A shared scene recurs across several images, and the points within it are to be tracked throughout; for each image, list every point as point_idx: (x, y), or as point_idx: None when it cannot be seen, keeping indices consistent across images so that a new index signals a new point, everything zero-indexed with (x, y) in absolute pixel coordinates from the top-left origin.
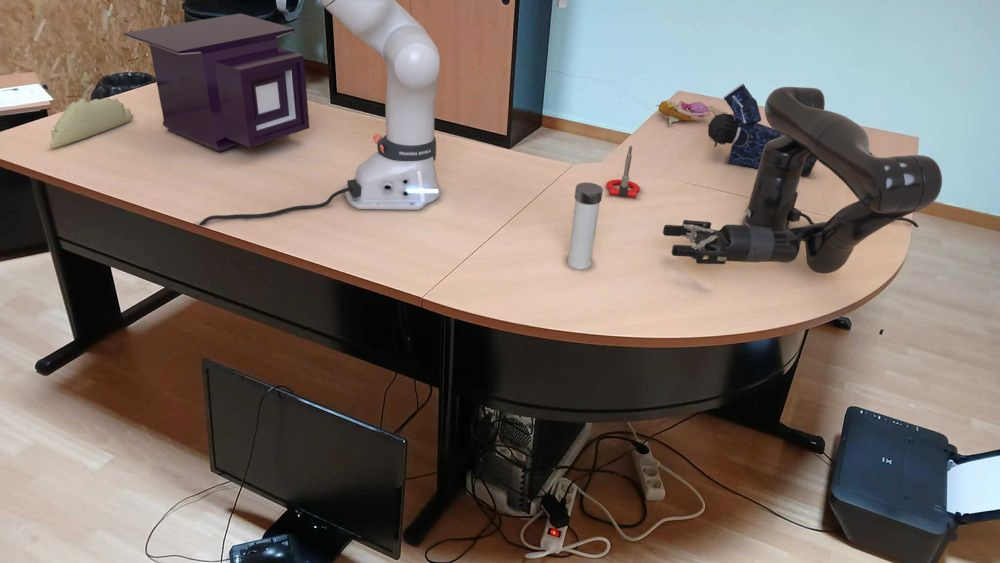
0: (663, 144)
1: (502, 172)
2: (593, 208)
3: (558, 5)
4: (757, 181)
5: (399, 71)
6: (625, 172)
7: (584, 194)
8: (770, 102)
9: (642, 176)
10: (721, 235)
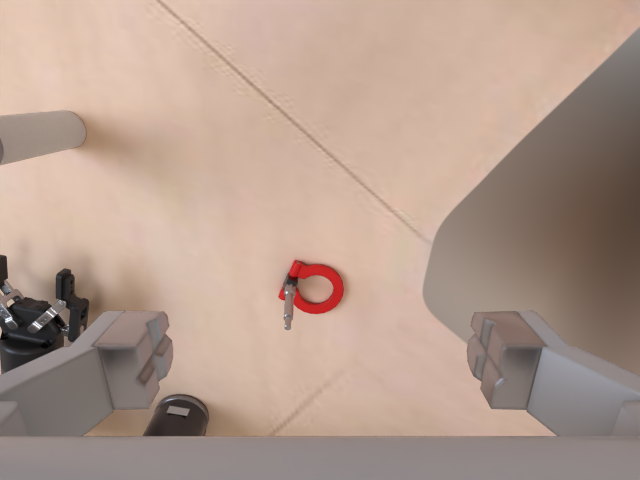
0: (474, 410)
1: (425, 98)
2: None
3: (113, 315)
4: None
5: None
6: (286, 297)
7: None
8: None
9: (360, 334)
10: (33, 338)
